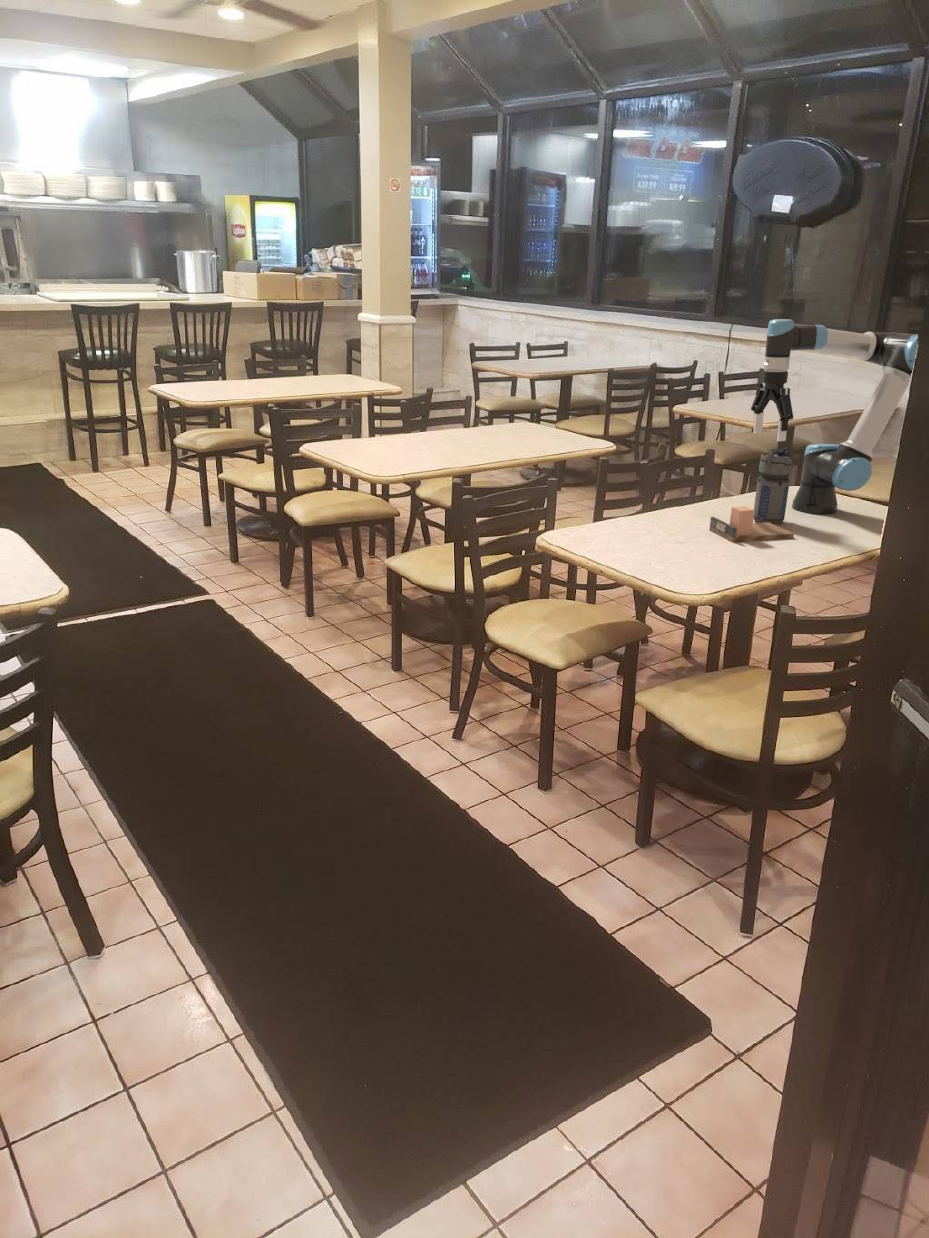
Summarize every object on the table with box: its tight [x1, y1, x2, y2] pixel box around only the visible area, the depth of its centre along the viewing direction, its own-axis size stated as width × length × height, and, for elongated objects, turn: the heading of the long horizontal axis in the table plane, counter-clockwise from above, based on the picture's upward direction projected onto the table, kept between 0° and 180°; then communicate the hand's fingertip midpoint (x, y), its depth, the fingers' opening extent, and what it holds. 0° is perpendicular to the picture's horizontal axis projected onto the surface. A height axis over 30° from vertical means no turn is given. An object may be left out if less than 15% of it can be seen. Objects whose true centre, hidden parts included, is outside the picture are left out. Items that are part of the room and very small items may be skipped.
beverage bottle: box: [753, 447, 793, 526], centre depth 317 cm, size 10×13×25 cm
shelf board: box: [708, 516, 795, 543], centre depth 305 cm, size 22×14×4 cm, turn 106°
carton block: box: [729, 505, 754, 536], centre depth 300 cm, size 5×5×8 cm
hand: (769, 437), depth 310 cm, fingers open, 13 cm apart
